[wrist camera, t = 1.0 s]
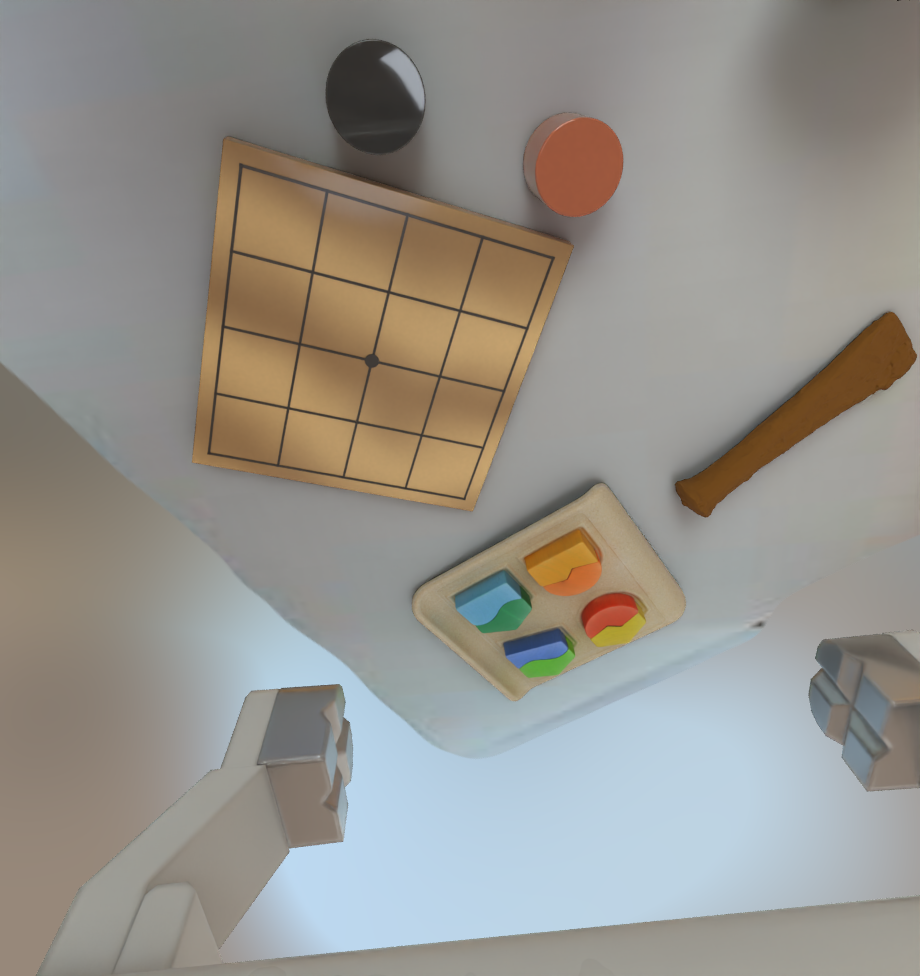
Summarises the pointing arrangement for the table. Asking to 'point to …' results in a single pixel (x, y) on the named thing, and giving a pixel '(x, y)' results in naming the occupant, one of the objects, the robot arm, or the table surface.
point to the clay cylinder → (573, 163)
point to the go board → (363, 330)
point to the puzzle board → (552, 595)
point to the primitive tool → (807, 410)
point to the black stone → (375, 97)
